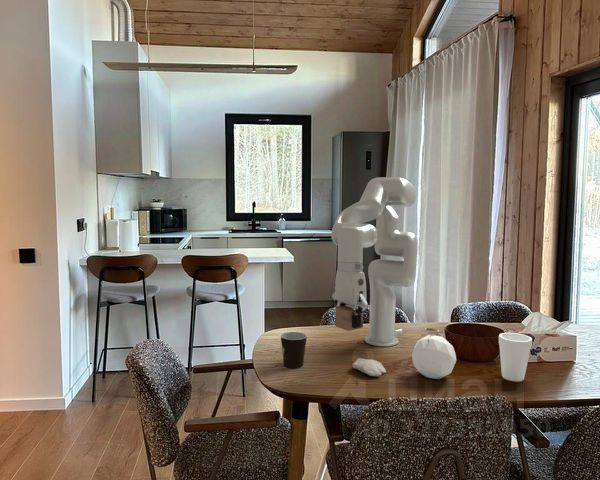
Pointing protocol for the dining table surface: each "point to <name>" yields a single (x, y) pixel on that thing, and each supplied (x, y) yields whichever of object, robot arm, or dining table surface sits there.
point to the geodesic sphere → (434, 356)
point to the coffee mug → (293, 349)
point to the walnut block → (345, 317)
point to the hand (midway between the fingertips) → (349, 323)
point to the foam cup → (514, 355)
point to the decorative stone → (369, 367)
